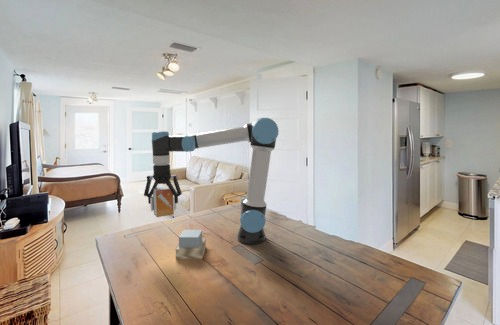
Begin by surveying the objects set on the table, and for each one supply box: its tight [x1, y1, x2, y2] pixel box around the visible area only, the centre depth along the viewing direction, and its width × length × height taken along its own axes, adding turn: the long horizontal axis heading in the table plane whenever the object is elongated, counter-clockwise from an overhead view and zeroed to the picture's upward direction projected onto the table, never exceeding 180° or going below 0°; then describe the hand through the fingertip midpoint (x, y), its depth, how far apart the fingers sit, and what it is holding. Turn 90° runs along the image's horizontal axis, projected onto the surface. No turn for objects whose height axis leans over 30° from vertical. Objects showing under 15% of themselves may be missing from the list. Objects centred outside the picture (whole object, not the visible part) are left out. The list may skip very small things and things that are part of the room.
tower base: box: [175, 237, 207, 260], centre depth 123 cm, size 12×12×5 cm
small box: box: [152, 186, 175, 218], centre depth 123 cm, size 8×6×13 cm
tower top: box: [178, 229, 203, 248], centre depth 122 cm, size 9×9×5 cm
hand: (163, 210), depth 123 cm, fingers closed on small box, 10 cm apart
